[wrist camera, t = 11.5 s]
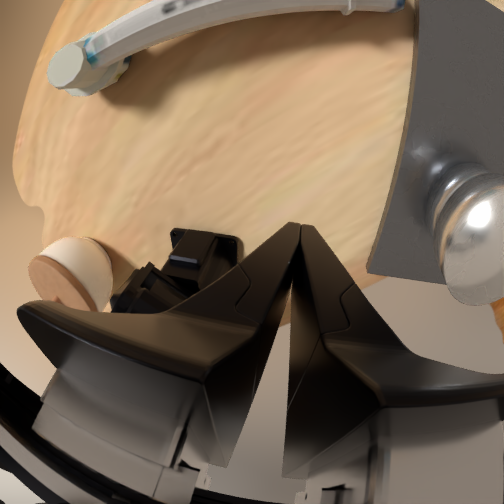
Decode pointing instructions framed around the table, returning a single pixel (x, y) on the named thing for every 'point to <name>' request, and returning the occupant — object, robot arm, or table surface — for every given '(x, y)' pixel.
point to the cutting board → (442, 129)
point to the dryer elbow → (473, 240)
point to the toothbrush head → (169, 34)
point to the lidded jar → (73, 274)
